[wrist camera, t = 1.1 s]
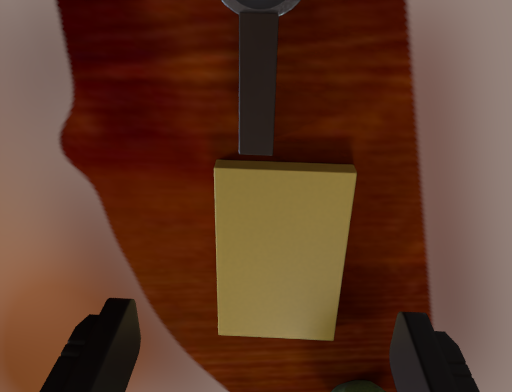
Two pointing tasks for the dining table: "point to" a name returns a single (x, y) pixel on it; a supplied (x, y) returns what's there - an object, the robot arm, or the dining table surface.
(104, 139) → the dining table surface
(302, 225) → the board
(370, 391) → the avocado
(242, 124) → the frying pan
